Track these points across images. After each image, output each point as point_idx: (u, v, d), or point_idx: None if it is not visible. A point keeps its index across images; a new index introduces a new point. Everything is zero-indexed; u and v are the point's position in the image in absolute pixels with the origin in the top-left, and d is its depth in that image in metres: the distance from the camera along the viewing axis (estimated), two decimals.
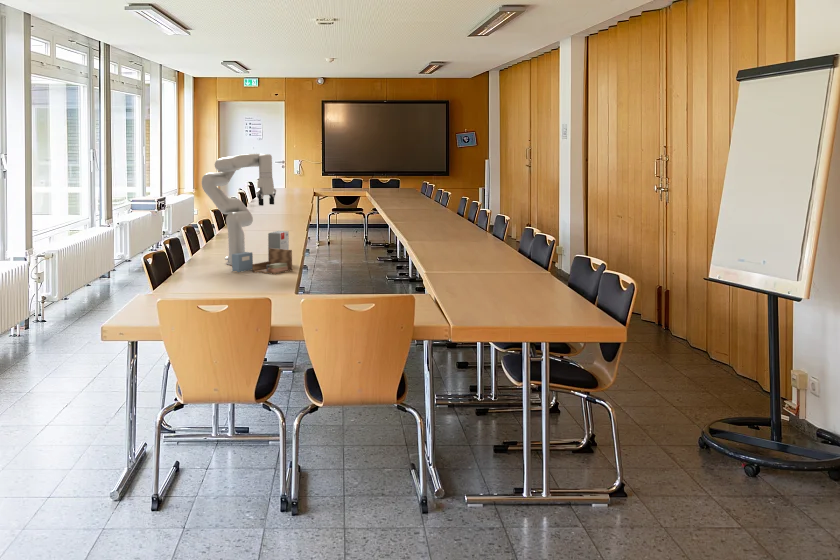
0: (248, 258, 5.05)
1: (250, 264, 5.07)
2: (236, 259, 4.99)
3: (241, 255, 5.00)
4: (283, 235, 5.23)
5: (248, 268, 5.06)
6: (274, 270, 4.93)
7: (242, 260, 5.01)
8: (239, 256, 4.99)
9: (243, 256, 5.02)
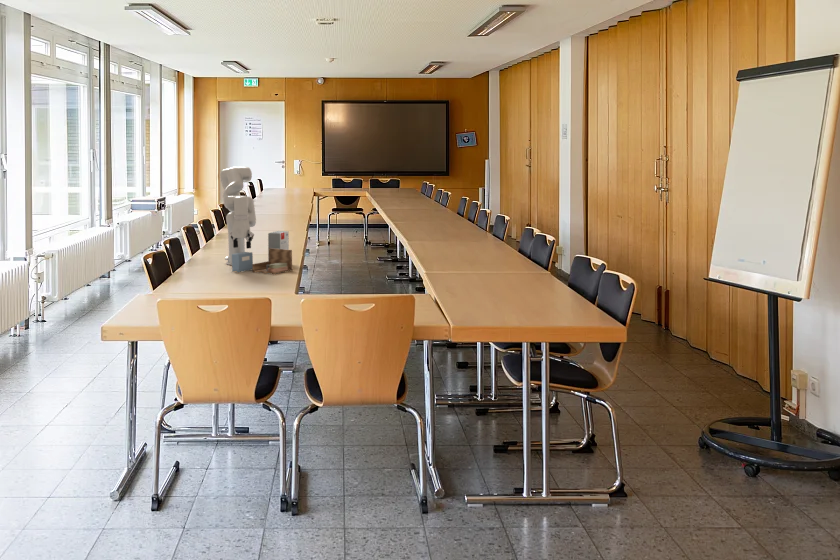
0: (248, 258, 5.05)
1: (250, 264, 5.07)
2: (236, 259, 4.99)
3: (241, 255, 5.00)
4: (283, 235, 5.23)
5: (248, 268, 5.06)
6: (274, 270, 4.93)
7: (242, 260, 5.01)
8: (239, 256, 4.99)
9: (243, 256, 5.02)
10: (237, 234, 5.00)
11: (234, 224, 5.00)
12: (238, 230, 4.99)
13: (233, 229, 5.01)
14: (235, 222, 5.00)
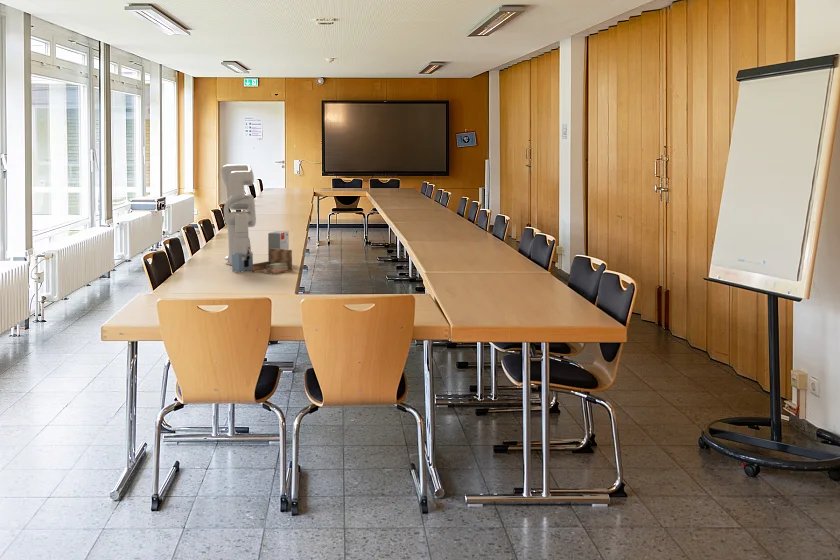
0: None
1: (250, 264, 5.07)
2: (236, 259, 4.99)
3: (241, 255, 5.00)
4: (283, 235, 5.23)
5: (248, 268, 5.06)
6: (274, 270, 4.93)
7: (242, 260, 5.01)
8: (239, 256, 4.99)
9: (243, 256, 5.02)
10: (238, 251, 5.02)
11: (235, 241, 5.02)
12: (238, 247, 5.01)
13: (234, 246, 5.03)
14: (236, 239, 5.02)
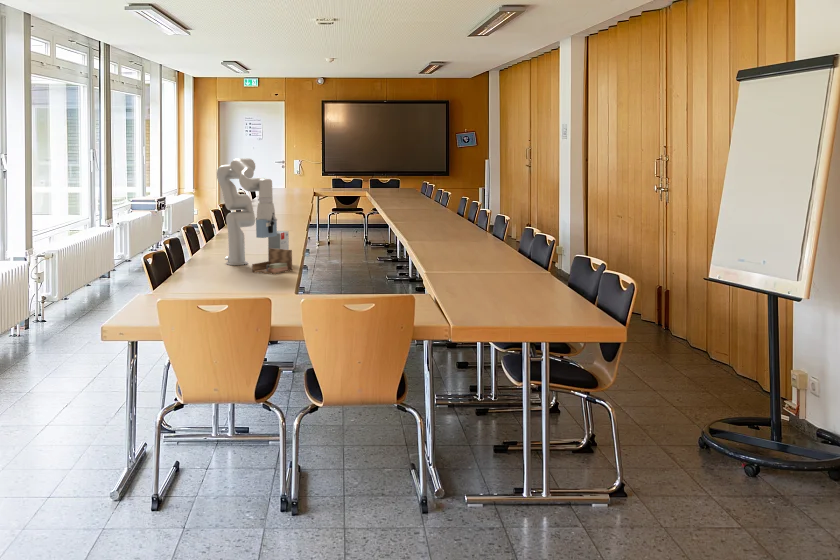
0: None
1: (274, 230, 5.02)
2: (260, 224, 4.94)
3: (265, 221, 4.94)
4: (283, 235, 5.23)
5: (272, 234, 5.01)
6: (274, 270, 4.93)
7: (266, 226, 4.96)
8: (263, 222, 4.93)
9: (267, 222, 4.96)
10: (262, 216, 4.96)
11: (259, 207, 4.97)
12: (262, 213, 4.96)
13: (258, 212, 4.98)
14: (260, 205, 4.96)
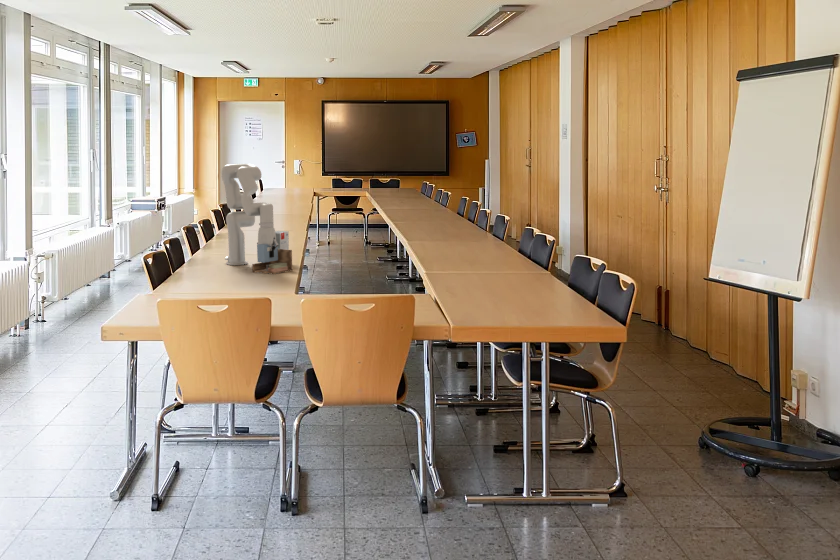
0: None
1: (275, 255, 5.04)
2: (261, 249, 4.96)
3: (266, 245, 4.97)
4: (283, 235, 5.23)
5: (273, 259, 5.03)
6: (274, 270, 4.93)
7: (267, 250, 4.98)
8: (264, 246, 4.95)
9: (268, 246, 4.98)
10: (263, 241, 4.98)
11: (260, 231, 4.99)
12: (263, 237, 4.98)
13: (259, 236, 5.00)
14: (261, 229, 4.98)
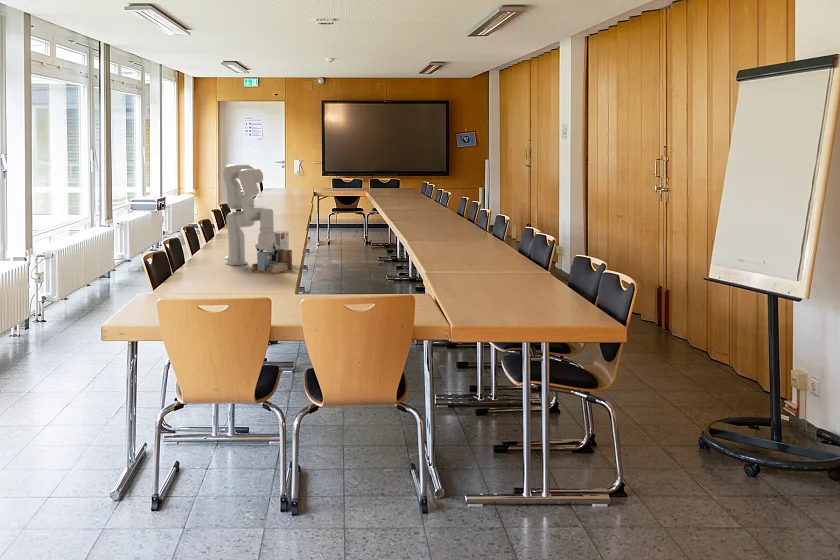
0: None
1: None
2: (261, 258, 4.97)
3: (266, 254, 4.98)
4: (283, 235, 5.23)
5: None
6: (274, 270, 4.93)
7: (267, 259, 4.99)
8: (264, 255, 4.96)
9: (268, 255, 4.99)
10: (263, 246, 4.99)
11: (260, 236, 4.99)
12: (263, 243, 4.98)
13: (259, 241, 5.00)
14: (261, 234, 4.99)
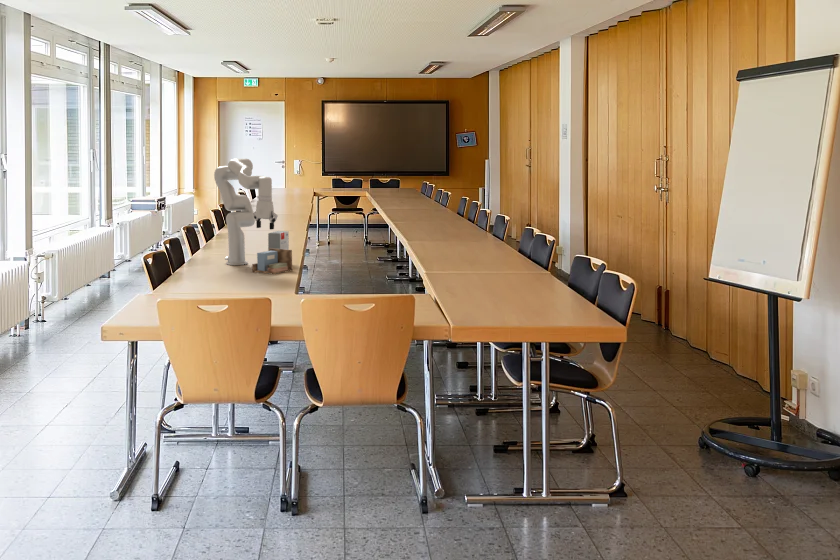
0: (273, 257, 5.03)
1: None
2: (261, 258, 4.97)
3: (266, 254, 4.98)
4: (283, 235, 5.23)
5: None
6: (274, 270, 4.93)
7: (267, 259, 4.99)
8: (264, 255, 4.96)
9: (268, 255, 4.99)
10: (261, 214, 4.99)
11: (258, 204, 5.00)
12: (261, 211, 4.99)
13: (257, 209, 5.01)
14: (259, 203, 4.99)
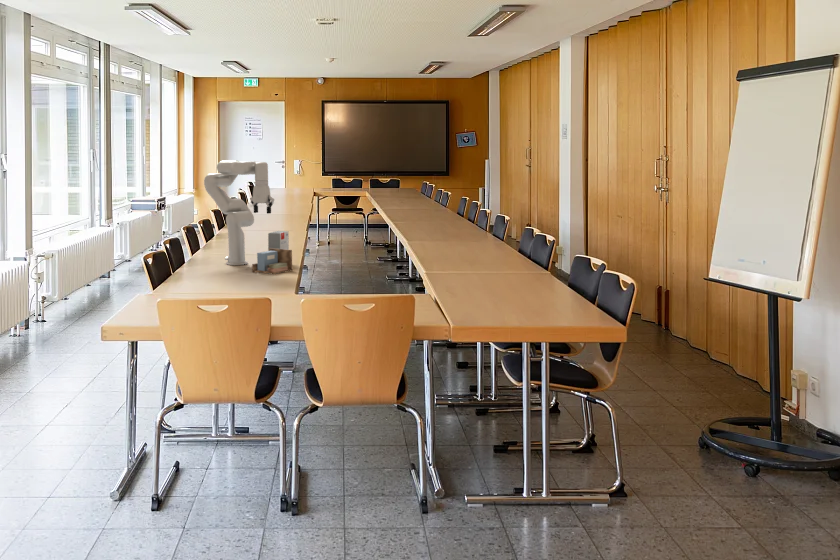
0: (273, 257, 5.03)
1: None
2: (261, 258, 4.97)
3: (266, 254, 4.98)
4: (283, 235, 5.23)
5: None
6: (274, 270, 4.93)
7: (267, 259, 4.99)
8: (264, 255, 4.96)
9: (268, 255, 4.99)
10: (258, 199, 5.07)
11: (255, 189, 5.08)
12: (258, 195, 5.07)
13: (254, 194, 5.08)
14: (256, 187, 5.07)
